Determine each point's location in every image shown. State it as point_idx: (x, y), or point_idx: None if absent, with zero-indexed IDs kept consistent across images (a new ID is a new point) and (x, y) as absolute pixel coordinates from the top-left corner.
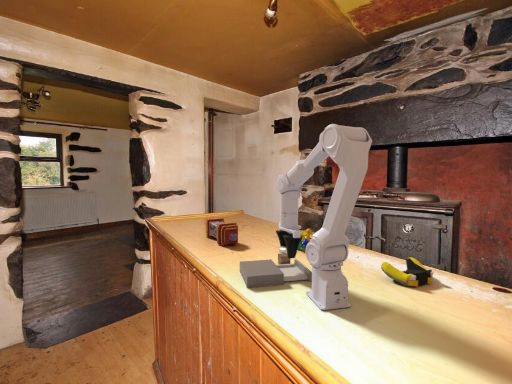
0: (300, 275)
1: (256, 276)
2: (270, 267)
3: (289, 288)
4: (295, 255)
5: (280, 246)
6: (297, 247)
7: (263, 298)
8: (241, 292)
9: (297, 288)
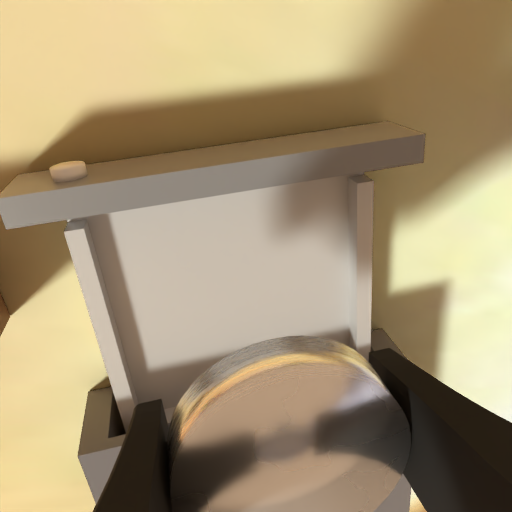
0: (371, 228)
1: (407, 507)
2: None
3: (437, 300)
4: (409, 362)
5: None
6: (505, 425)
7: None
8: (412, 500)
9: (451, 255)
